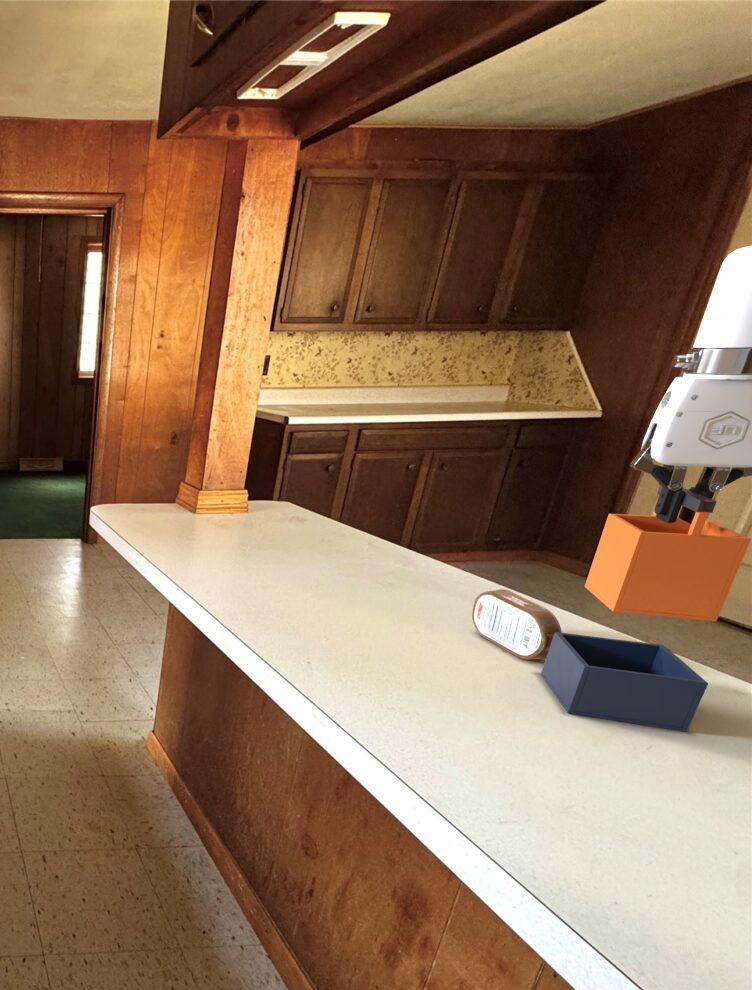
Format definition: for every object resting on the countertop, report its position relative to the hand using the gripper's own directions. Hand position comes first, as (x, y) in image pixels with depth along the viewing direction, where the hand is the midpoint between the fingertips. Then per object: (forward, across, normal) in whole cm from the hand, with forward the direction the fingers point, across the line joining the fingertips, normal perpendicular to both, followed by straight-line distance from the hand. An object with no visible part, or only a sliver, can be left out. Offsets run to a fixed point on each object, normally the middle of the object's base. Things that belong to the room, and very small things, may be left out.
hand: (676, 520), depth 82 cm
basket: (+11, 0, 0) cm, 11 cm away
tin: (+25, -9, +14) cm, 30 cm away
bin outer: (+25, -1, -1) cm, 25 cm away
